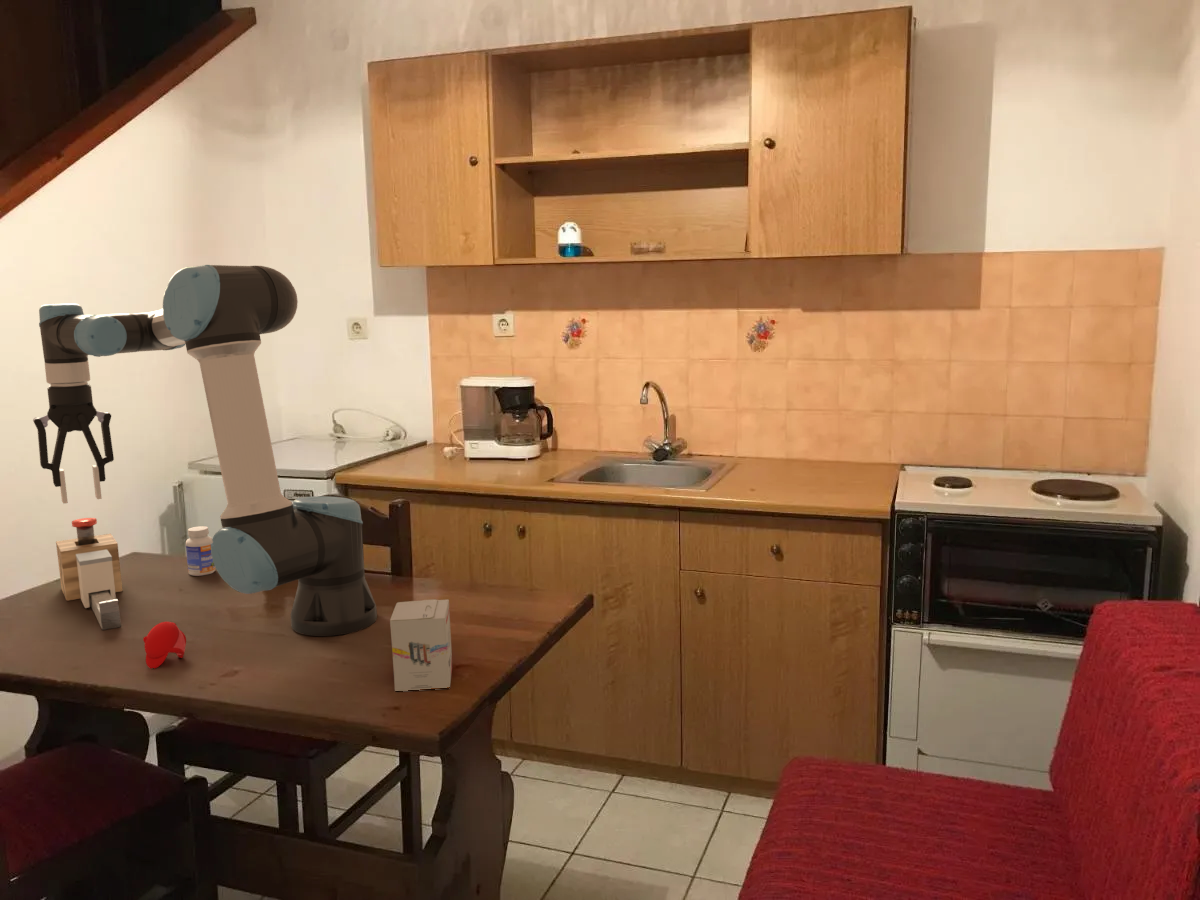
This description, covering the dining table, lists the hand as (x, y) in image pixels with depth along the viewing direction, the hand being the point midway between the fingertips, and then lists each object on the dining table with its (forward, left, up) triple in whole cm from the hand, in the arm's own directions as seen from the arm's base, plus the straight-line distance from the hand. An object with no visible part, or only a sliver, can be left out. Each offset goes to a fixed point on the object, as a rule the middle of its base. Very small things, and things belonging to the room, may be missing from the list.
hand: (81, 499), depth 192 cm
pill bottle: (-1, -21, -19) cm, 28 cm away
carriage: (-10, 0, -19) cm, 21 cm away
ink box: (-80, -37, -19) cm, 90 cm away
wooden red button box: (0, 0, -19) cm, 19 cm away
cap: (-48, -5, -19) cm, 52 cm away
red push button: (0, 0, -9) cm, 9 cm away
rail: (-16, 0, -19) cm, 24 cm away
